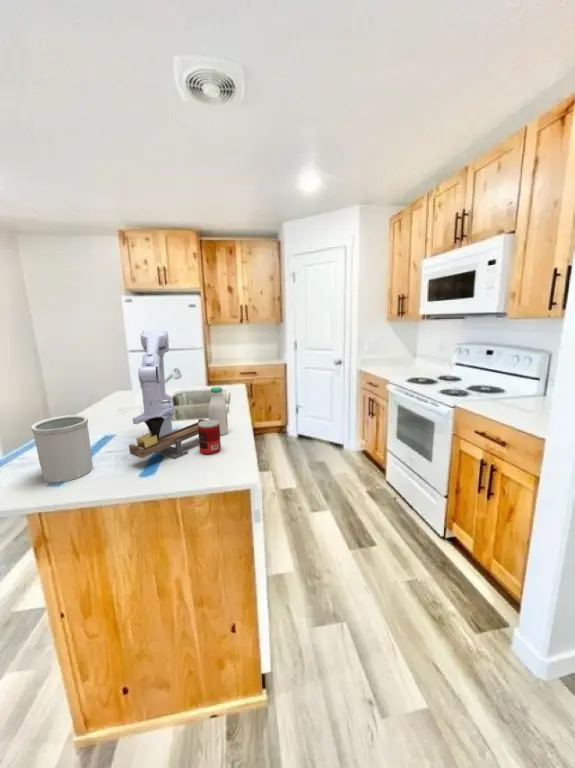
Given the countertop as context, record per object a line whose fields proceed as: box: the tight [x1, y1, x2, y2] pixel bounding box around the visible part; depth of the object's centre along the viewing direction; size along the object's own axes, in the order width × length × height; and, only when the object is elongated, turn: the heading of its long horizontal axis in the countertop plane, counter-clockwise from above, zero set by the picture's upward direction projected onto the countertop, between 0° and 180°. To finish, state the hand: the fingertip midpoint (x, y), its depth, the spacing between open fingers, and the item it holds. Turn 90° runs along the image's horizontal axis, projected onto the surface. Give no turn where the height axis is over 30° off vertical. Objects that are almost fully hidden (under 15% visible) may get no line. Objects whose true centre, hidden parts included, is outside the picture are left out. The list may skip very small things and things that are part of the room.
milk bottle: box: [207, 386, 229, 436], centre depth 142 cm, size 8×8×20 cm
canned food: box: [198, 419, 222, 455], centre depth 124 cm, size 8×8×11 cm
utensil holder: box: [31, 414, 94, 484], centre depth 107 cm, size 15×15×18 cm
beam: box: [128, 418, 206, 459], centre depth 124 cm, size 7×32×3 cm, turn 148°
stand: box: [155, 436, 189, 460], centre depth 123 cm, size 11×6×6 cm, turn 58°
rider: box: [135, 432, 158, 450], centre depth 114 cm, size 4×5×4 cm
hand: (155, 438), depth 117 cm, fingers closed
